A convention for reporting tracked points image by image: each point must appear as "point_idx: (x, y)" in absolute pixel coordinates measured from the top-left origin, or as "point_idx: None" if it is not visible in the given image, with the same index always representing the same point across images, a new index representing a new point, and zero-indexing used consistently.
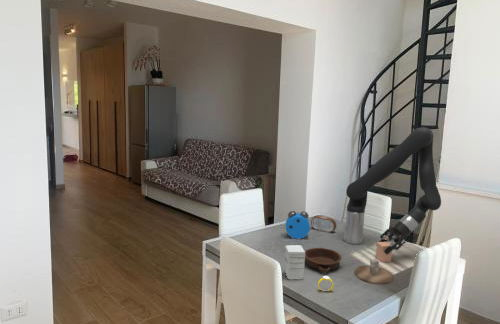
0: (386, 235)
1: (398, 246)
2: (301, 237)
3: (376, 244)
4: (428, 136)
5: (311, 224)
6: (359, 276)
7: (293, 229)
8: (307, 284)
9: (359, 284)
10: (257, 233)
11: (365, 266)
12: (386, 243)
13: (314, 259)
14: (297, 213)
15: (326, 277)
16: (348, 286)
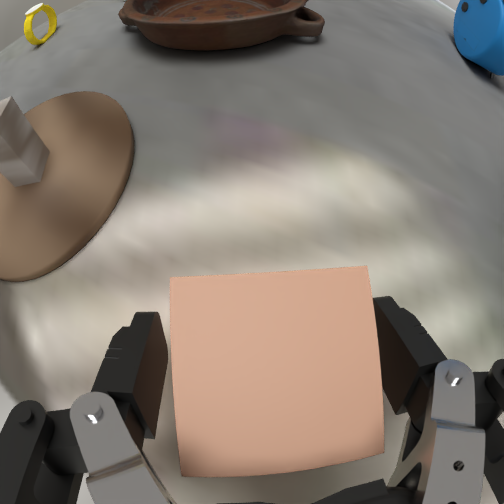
0: (463, 464)
1: (53, 496)
2: (465, 53)
3: (389, 298)
4: None
5: None
6: (41, 104)
7: (465, 17)
8: (95, 9)
9: None
10: (446, 11)
11: (114, 147)
12: (302, 419)
13: (255, 9)
14: None
15: (33, 8)
16: (28, 78)
